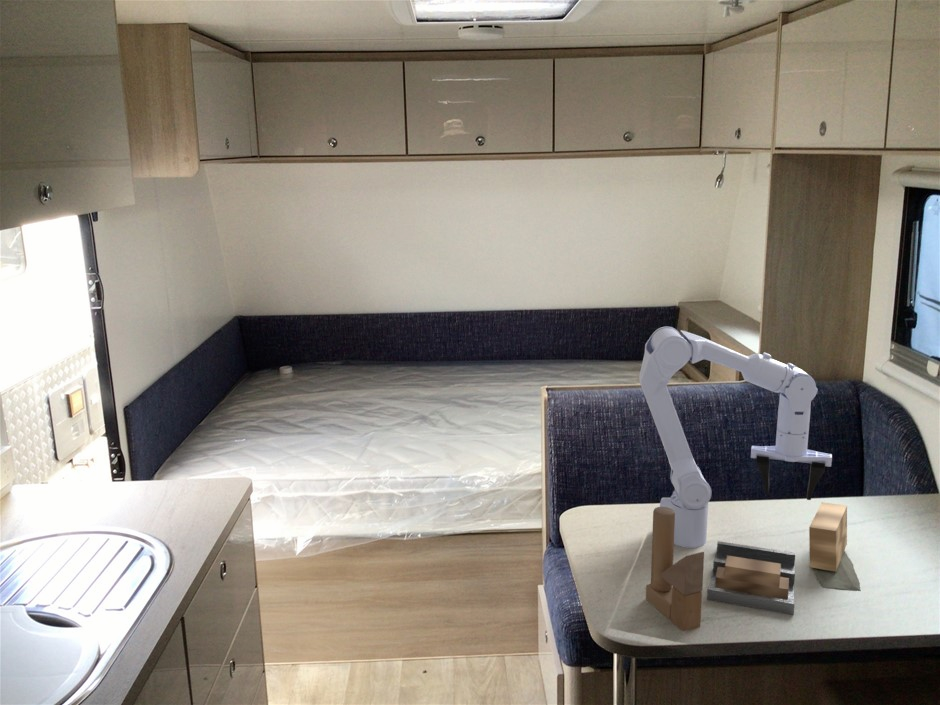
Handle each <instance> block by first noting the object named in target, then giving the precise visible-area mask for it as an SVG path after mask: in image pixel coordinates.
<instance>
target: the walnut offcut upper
mask: <svg viewBox="0 0 940 705" xmlns="http://www.w3.org/2000/svg"><path fill="white" fill-rule="evenodd" d="M780 569H781V564H779V563H773V562H766V561H760V560H753V559H747V558H741V557H734V556H728V555H727V559H726V565H725V579H730V580H736V581H742V582H747V583H753V584H759V585H765V586H771V587H777V588H779V584H780Z"/></svg>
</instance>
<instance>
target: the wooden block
mask: <svg viewBox="0 0 940 705" xmlns="http://www.w3.org/2000/svg"><path fill="white" fill-rule="evenodd" d="M674 528H675V512H674V510H673V509H671V508H668V507H660V506H658V507H657V506H656V507H655V508H654V509H653V511H652V533H651V534H652V538H651V563H650V564H651V568H650V583H648V584H646V587H645V600H646V602H648V603H649V604H650V605H651V606H652V607H654V608H655V609H656V610H657V611H658V612H659V613H661V614H662V615H663V616H665V617H666V618H667V619H668V620H670V622H671V623H672V624H674V625H675V626H676V627H677V628H678V629H680V630H681V631H682V632H685V631H689V630H693V629H697V628H700V627H701V622H702V621H701V618H702V600H703V598H702V597H703V593H702V591H703V584H704V583H703V581H704V580H703V579H704V567H705V566H704V563H705V562H704V560H705V551H701V552H696V553H692V554H688V555H685V556H684V557H683V558H681V559H680V560H678V561H677V562H675V563H674V549H675V548H674V547H675V544H674Z"/></svg>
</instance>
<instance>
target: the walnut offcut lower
mask: <svg viewBox="0 0 940 705" xmlns="http://www.w3.org/2000/svg"><path fill="white" fill-rule="evenodd" d="M715 588H721V589H726V590H732V591H738V592H744V593H750V594H756V595H761V596H767V597H773V598H779V599H785V600H788V591H789V578H785V577H780V584H779V588H777V587H771V586H765V585H759V584H753V583H747V582H742V581H736V580H730V579H725V568H723V567H718V568H717V573H716V580H715Z"/></svg>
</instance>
